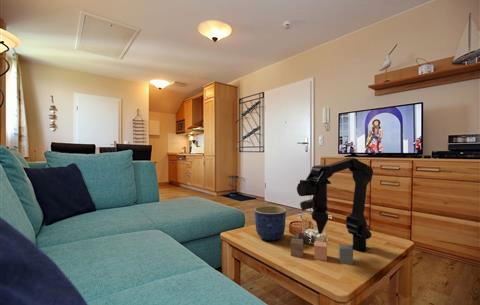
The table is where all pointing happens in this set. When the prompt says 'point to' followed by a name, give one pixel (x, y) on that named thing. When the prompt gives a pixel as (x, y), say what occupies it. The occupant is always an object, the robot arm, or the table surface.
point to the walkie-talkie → (302, 236)
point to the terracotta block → (320, 250)
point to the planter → (270, 222)
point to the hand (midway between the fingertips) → (320, 230)
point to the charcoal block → (346, 254)
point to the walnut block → (297, 247)
